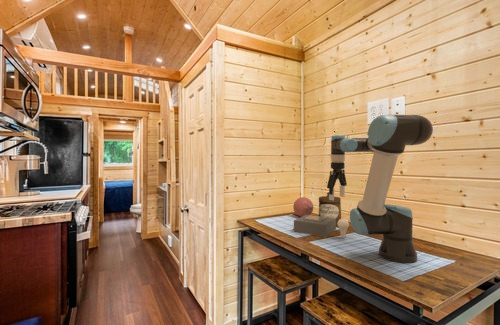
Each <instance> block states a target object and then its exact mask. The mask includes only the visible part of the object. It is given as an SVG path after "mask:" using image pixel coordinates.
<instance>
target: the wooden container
mask: <svg viewBox="0 0 500 325" xmlns="http://www.w3.org/2000/svg"><path fill="white" fill-rule="evenodd" d="M341 204H342V203H341V197H340V196H334V201H333V200H329V191H328V192H326V195H325V196H319V197H318V216H321V217H330V218H336V227H338V225H337V223H338V221H339V220H340V219H342V208H341V207H342V205H341Z"/></svg>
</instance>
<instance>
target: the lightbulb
mask: <svg viewBox="0 0 500 325" xmlns="http://www.w3.org/2000/svg"><path fill="white" fill-rule="evenodd" d="M337 225H338V226H337V227H338V229H339V233H340V237H341V238H342V239H345V238H346V234H347V231H348V228H349V226H350V223H349V221H348V219H346V218H341V219H340V220H339V221H338V223H337Z"/></svg>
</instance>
